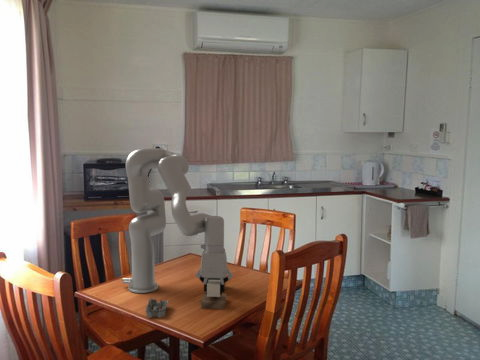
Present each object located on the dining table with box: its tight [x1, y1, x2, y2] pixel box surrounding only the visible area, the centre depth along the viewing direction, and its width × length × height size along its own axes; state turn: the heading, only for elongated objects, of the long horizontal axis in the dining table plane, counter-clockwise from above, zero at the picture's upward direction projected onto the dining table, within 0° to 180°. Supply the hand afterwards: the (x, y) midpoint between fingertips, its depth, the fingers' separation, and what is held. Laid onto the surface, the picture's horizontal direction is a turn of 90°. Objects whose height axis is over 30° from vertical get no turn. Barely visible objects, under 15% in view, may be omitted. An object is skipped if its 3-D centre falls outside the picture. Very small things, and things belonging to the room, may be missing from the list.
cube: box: [207, 280, 221, 297], centre depth 174 cm, size 5×5×5 cm
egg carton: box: [145, 297, 169, 319], centre depth 167 cm, size 11×8×4 cm
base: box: [200, 292, 227, 310], centre depth 175 cm, size 9×9×3 cm
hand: (214, 293), depth 174 cm, fingers closed on cube, 5 cm apart
